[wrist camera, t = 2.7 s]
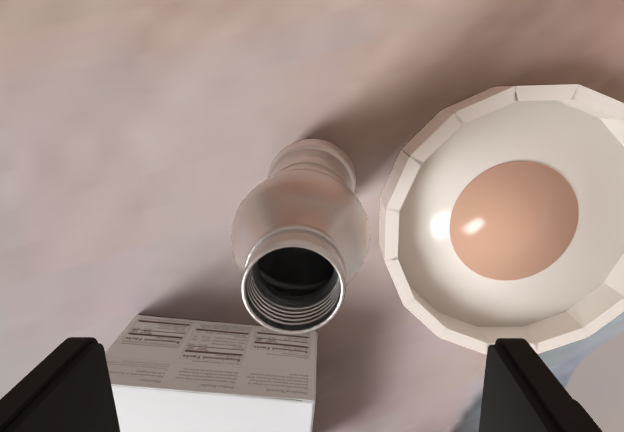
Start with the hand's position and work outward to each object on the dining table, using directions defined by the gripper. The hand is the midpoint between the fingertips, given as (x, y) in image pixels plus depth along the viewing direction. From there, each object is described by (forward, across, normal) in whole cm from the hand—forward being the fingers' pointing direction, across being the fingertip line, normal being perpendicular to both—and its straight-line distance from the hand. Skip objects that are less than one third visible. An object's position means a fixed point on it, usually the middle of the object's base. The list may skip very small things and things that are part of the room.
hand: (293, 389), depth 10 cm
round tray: (+25, -15, +3) cm, 29 cm away
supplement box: (+25, +10, +19) cm, 33 cm away
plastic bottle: (+25, +1, -1) cm, 25 cm away
